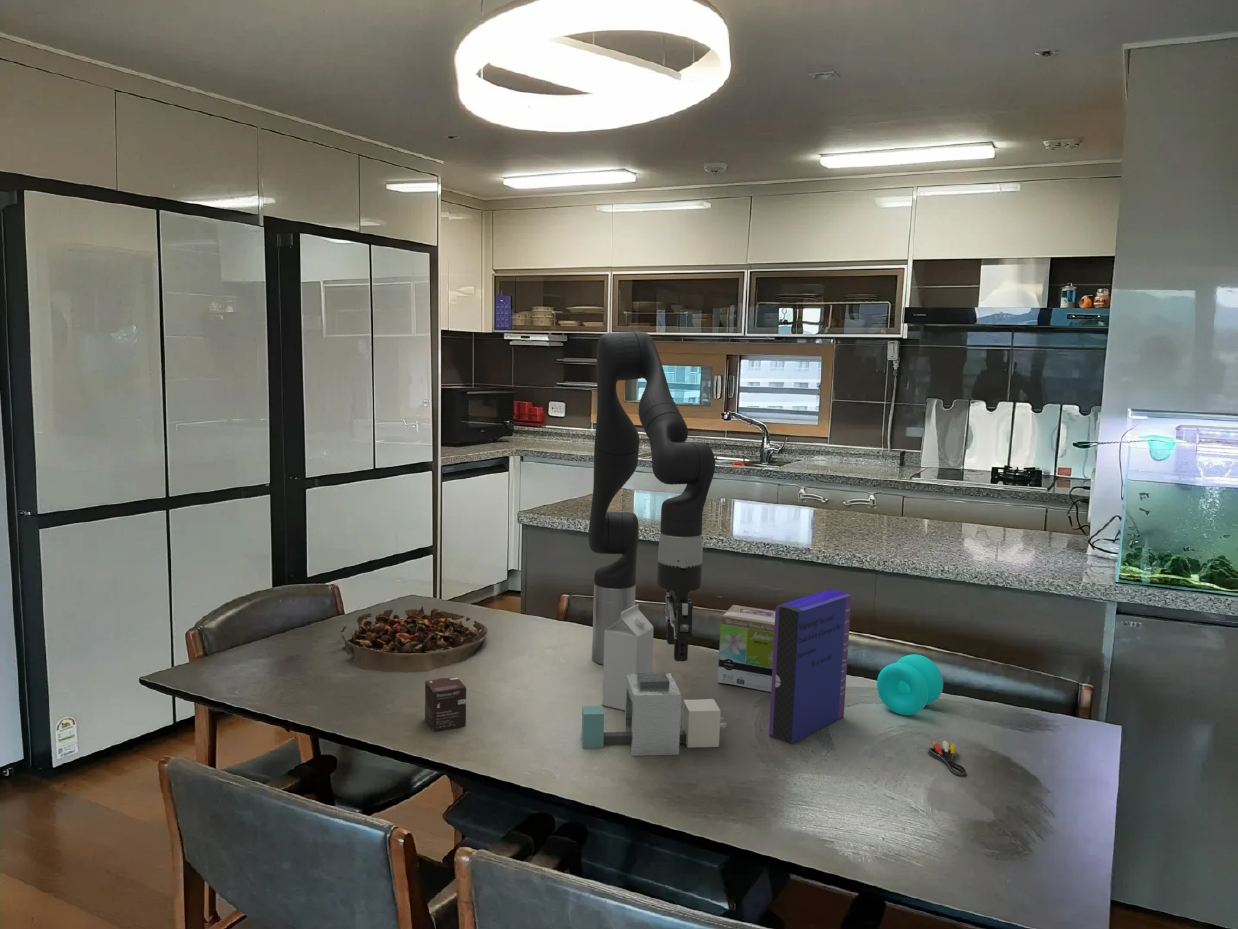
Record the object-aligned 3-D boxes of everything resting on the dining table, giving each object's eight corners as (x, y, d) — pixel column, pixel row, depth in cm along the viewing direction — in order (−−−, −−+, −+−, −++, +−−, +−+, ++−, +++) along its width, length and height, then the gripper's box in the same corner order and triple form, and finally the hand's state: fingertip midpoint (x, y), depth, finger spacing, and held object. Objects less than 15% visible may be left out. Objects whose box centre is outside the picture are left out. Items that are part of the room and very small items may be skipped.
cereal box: (821, 710, 160) (828, 589, 158) (843, 717, 157) (851, 594, 154) (768, 735, 148) (775, 604, 146) (791, 744, 145) (798, 611, 142)
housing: (624, 730, 148) (626, 667, 147) (668, 729, 149) (670, 666, 148) (631, 756, 139) (634, 688, 137) (678, 754, 140) (681, 687, 138)
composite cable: (969, 779, 135) (970, 765, 134) (938, 776, 135) (939, 762, 135) (953, 752, 144) (954, 739, 144) (924, 750, 145) (925, 736, 145)
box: (432, 732, 146) (433, 692, 145) (424, 719, 151) (424, 680, 150) (466, 726, 148) (467, 687, 148) (456, 714, 154) (457, 675, 153)
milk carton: (601, 706, 159) (604, 609, 157) (619, 694, 165) (622, 601, 163) (635, 714, 156) (638, 615, 154) (651, 701, 162) (654, 606, 160)
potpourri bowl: (377, 623, 210) (378, 593, 210) (503, 635, 206) (505, 604, 205) (306, 666, 176) (307, 630, 175) (457, 681, 171) (458, 644, 171)
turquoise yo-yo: (943, 709, 163) (947, 660, 162) (922, 724, 155) (926, 672, 154) (895, 694, 169) (898, 647, 168) (872, 708, 162) (875, 658, 161)
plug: (581, 737, 145) (581, 701, 144) (720, 734, 148) (722, 699, 148) (583, 750, 140) (584, 713, 140) (727, 746, 143) (729, 710, 143)
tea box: (716, 684, 172) (719, 615, 171) (728, 669, 181) (731, 603, 180) (789, 697, 167) (792, 625, 165) (797, 680, 176) (801, 612, 174)
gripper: (652, 550, 147) (650, 639, 149) (663, 569, 133) (660, 666, 135) (694, 550, 148) (691, 639, 150) (709, 569, 134) (705, 666, 136)
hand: (676, 652), depth 142 cm, fingers open, 8 cm apart
